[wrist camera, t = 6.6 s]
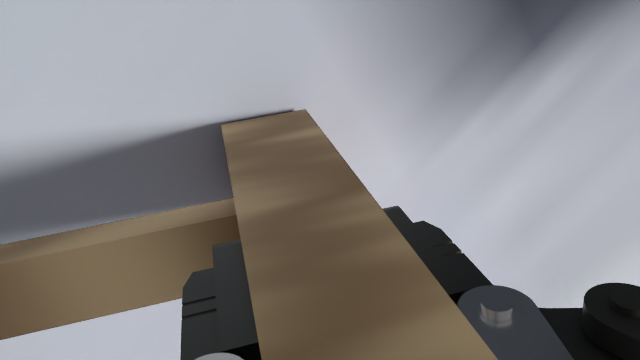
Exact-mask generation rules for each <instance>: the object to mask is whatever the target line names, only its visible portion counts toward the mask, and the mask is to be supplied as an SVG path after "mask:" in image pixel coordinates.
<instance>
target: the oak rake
mask: <svg viewBox="0 0 640 360" xmlns="http://www.w3.org/2000/svg"><path fill="white" fill-rule="evenodd" d="M221 128H222V134H223V140H224V146H225V151H226V157H227V163H228V169H229V175H230V180H231V186H232V192H233V198H229V199H224V200H220V201H215V202H210V203H205V204H200V205H195V206H190V207H185V208H180V209H175V210H170V211H165V212H160V213H155V214H151V215H146V216H141V217H136V218H131V219H126V220H121V221H116V222H111V223H106V224H101V225H96V226H91V227H87V228H82V229H77V230H72V231H67V232H62V233H57V234H52V235H47V236H42V237H37V238H32V239H27V240H22V241H18V242H13V243H8V244H3V245H0V340H2V339H7V338H11V337H15V336H20V335H24V334H28V333H33V332H37V331H41V330H46V329H50V328H54V327H59V326H63V325H68V324H72V323H76V322H81V321H85V320H89V319H94V318H98V317H102V316H107V315H111V314H115V313H120V312H124V311H128V310H133V309H137V308H141V307H146V306H150V305H154V304H159V303H163V302H167V301H172V300H176V299H180V298H182V294H183V287H184V285H185V283H186V282H187V280H188V279H189V277H190V275H191V274H192V272H196V271H200V270H204V269H209V268H213V254H212V246H213V245H217V244H222V243H226V242H231V241H236V240H240V239H241V244H242V249H243V255H244V261H245V267H246V272H247V278H248V284H249V290H250V295H251V301H252V307H253V313H254V319H255V324H256V330H257V336H258V342H259V347H260V353H261V359H262V360H498V359H497V358H496V356H495V355H494V354H493V353H492V351H491V350H490V349H489V347H488V346H487V345H486V343H485V342H484V341H483V340H482V338H481V337H480V336H479V334H478V333H477V332H476V330H475V329H474V328H473V327H472V325H471V324H470V323H469V321H468V320H467V319H466V317H465V316H464V315H463V314H462V312H461V311H460V310H459V308H458V307H457V306H456V304H455V303H454V302H453V301H452V299H451V298H450V297H449V295H448V294H447V293H446V291H445V290H444V289H443V287H442V286H441V285H440V284H439V282H438V281H437V280H436V278H435V277H434V276H433V274H432V273H431V272H430V271H429V269H428V268H427V267H426V265H425V264H424V263H423V261H422V260H421V259H420V258H419V256H418V255H417V254H416V252H415V251H414V250H413V248H412V247H411V246H410V245H409V243H408V242H407V241H406V239H405V238H404V237H403V235H402V234H401V233H400V232H399V230H398V229H397V228H396V226H395V225H394V224H393V222H392V221H391V220H390V219H389V217H388V216H387V215H386V213H385V212H384V211H383V209H382V208H381V207H380V206H379V204H378V203H377V202H376V200H375V199H374V198H373V196H372V195H371V194H370V193H369V191H368V190H367V189H366V187H365V186H364V185H363V183H362V182H361V181H360V180H359V178H358V177H357V176H356V174H355V173H354V172H353V170H352V169H351V168H350V167H349V165H348V164H347V163H346V161H345V160H344V159H343V157H342V156H341V155H340V154H339V152H338V151H337V150H336V148H335V147H334V146H333V144H332V143H331V142H330V140H329V139H328V138H327V137H326V135H325V134H324V133H323V131H322V130H321V129H320V127H319V126H318V125H317V124H316V122H315V121H314V120H313V118H312V117H311V116H310V114H309V113H308V112H307V111H306V109H305V110H299V111H294V112H288V113H282V114H277V115H271V116H266V117H260V118H255V119H249V120H243V121H238V122H232V123H227V124H221Z"/></svg>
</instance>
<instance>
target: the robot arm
mask: <svg viewBox="0 0 640 360" xmlns="http://www.w3.org/2000/svg"><path fill="white" fill-rule="evenodd" d="M383 211H384V212H385V213H386V215H387V216H388V217H389V219H390V220H391V221H392V222H393V224H394V225H395V226H396V228H397V229H398V230H399V232H400V233H401V234H402V235H403V237H404V238H405V239H406V241H407V242H408V243H409V245H410V246H411V247H412V248H413V250H414V251H415V252H416V254H417V255H418V256H419V258H420V259H421V260H422V261H423V263H424V264H425V265H426V267H427V268H428V269H429V271H430V272H431V273H432V274H433V276H434V277H435V278H436V280H437V281H438V282H439V284H440V285H441V286H442V287H443V289H444V290H445V291H446V293H447V294H448V295H449V297H450V298H451V299H452V301H453V302H454V303H455V304H456V306H457V307H458V308H459V310H460V311H461V312H462V314H463V315H464V316H465V317H466V319H467V320H468V321H469V323H470V324H471V325H472V327H473V328H474V329H475V330H476V332H477V333H478V334H479V336H480V337H481V338H482V340H483V341H484V342H485V343H486V345H487V346H488V347H489V349H490V350H491V351H492V353H493V354H494V355H495V356H496V358H497V359H498V360H640V287H639V286H635V285H630V284H625V283H605V284H600V285H597V286H594V287H592V288H591V289H589V290H588V291H587V292H586V294H585V296H584V303H583V308H538V307H537V306H536V305H535V303H534V302H533V301H532V300H531V299H530V298H529V297H528V296H526V295H525V294H523V293H521V292H519V291H517V290H515V289H512V288H508V287H504V286H496V285H493V284H492V283H491V282H490V281H489V280H488V279H487V278H486V277H485V276H484V275H483V274H482V273H481V272H480V271H479V269H478V268H477V267H476V266H475V265H474V264H473V263H472V262H471V261H470V260H469V259H468V258H467V257H466V255H465V254H464V253H463V254H462V253H461V250H460V249H459V248H458V247H457V246H456V245H455V244H453V243H452V240H451V239H450V238H449V237H448V236H447V235H446V234H445V233H444V232H443V231H442V230H441V229H440V228H437V227H435V226H433V225H431V224H429V223H427V222H425V221H420V222H416V223H413V222H412V221H411V220H410V219H409V218H408V217H407V215H406V214H405V213H404V212H403V211H402V209H401V208H400V207H399V206H393V207H389V208H384V209H383ZM212 254H213V268H209V269H204V270H200V271H196V272H192V274H191V275H190V277H189V279H188V280H187V282H186V283H185V285H184V287H183V294H182V305H183V307H182V329H181V360H262V359H261V353H260V347H259V342H258V336H257V330H256V324H255V319H254V313H253V307H252V301H251V295H250V290H249V284H248V278H247V272H246V267H245V261H244V255H243V249H242V244H241V239H240V240H236V241H231V242H226V243H222V244H217V245H213V246H212Z"/></svg>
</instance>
